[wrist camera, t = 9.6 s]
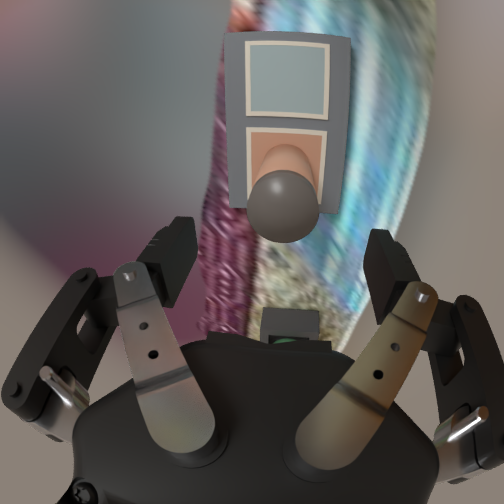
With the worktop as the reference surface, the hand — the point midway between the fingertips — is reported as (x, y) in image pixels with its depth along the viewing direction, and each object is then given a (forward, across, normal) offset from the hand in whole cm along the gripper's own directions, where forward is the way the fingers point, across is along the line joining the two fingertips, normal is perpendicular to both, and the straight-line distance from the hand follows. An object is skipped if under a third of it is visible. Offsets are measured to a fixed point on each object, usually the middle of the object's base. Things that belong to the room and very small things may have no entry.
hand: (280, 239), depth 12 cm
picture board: (+13, 0, -3) cm, 14 cm away
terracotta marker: (+12, 0, 0) cm, 12 cm away
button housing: (+13, -2, +22) cm, 25 cm away
